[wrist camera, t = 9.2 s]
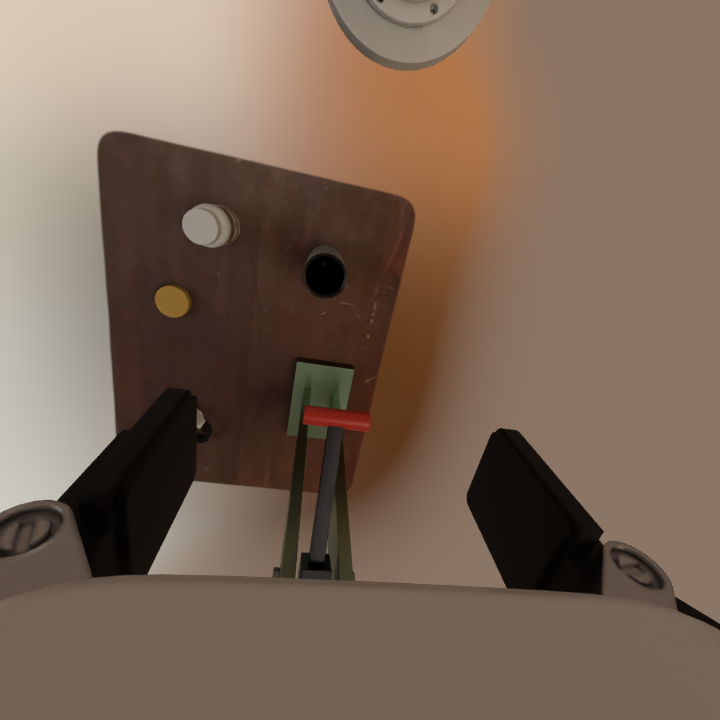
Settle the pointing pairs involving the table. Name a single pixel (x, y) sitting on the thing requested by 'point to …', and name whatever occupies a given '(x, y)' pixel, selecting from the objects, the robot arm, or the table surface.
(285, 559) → the hand press
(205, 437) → the watch
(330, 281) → the planter
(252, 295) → the table surface
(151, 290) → the table surface
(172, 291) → the brass blank
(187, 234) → the pill bottle
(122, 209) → the table surface
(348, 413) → the lever
